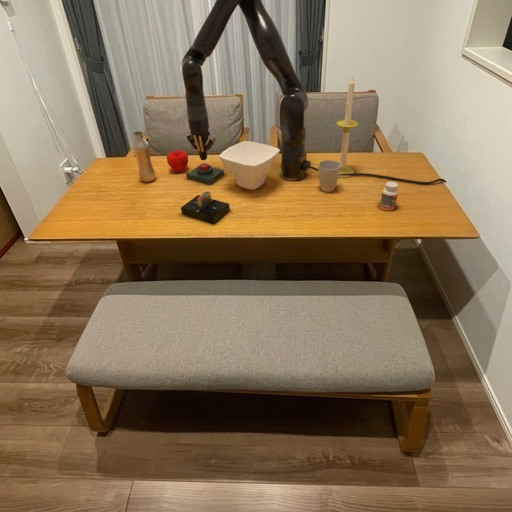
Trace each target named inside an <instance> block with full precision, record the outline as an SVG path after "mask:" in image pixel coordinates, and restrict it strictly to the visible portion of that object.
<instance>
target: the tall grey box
mask: <svg viewBox="0 0 512 512" xmlns="http://www.w3.org/2000/svg"><path fill="white" fill-rule="evenodd" d="M211 199H212V194H211V192H209V191H205V192H204V193H202V194H201V195H200V197H198V198H197V202H198V208H199V209H202V210H203V209H204V208H205V207H206V206H208V205H209V204H210V203H212V201H211Z"/></svg>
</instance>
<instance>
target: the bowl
mask: <svg viewBox="0 0 512 512" xmlns="http://www.w3.org/2000/svg"><path fill="white" fill-rule="evenodd" d="M280 153H281V149H280V148H277V147H275V146H272V145H269V144H265V143H260V142H256V141H251V140H250V141H249V140H243V141H241V142H238V143H235V144H234V145H231V146H229V147H228V148H226V149H225V150H223V151H222V152H221V153H220V154H219V155H218V158H219V160H220V161H221V162H222V163H223V165H224V166H225V167H226V169H227V170H228V171H229V173H232V174H233V176H234V179H235V182H236V183H237V185H238V186H239V187H242V188H244V189H247V190H252V191H253V190H255V189H258V188H259V187H262V185H263V184H264V183H265V180H266V176H267V174H268V171H269V170H270V169H271V168H272V166H273V164H274V162H275V161H276V159H277V157H278V156H279V154H280Z"/></svg>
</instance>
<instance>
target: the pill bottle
mask: <svg viewBox="0 0 512 512" xmlns="http://www.w3.org/2000/svg"><path fill="white" fill-rule="evenodd" d="M398 186H399V185H398V183H397V182H395V181H387V182H386V183H385V185H384V188H383V189H382V192H381V196H380V197H381V198H380V201H379V207H380V209H382V210H385V211H392V210H394V209H395V208H396V204H397V200H398V195H399V190H398Z"/></svg>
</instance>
